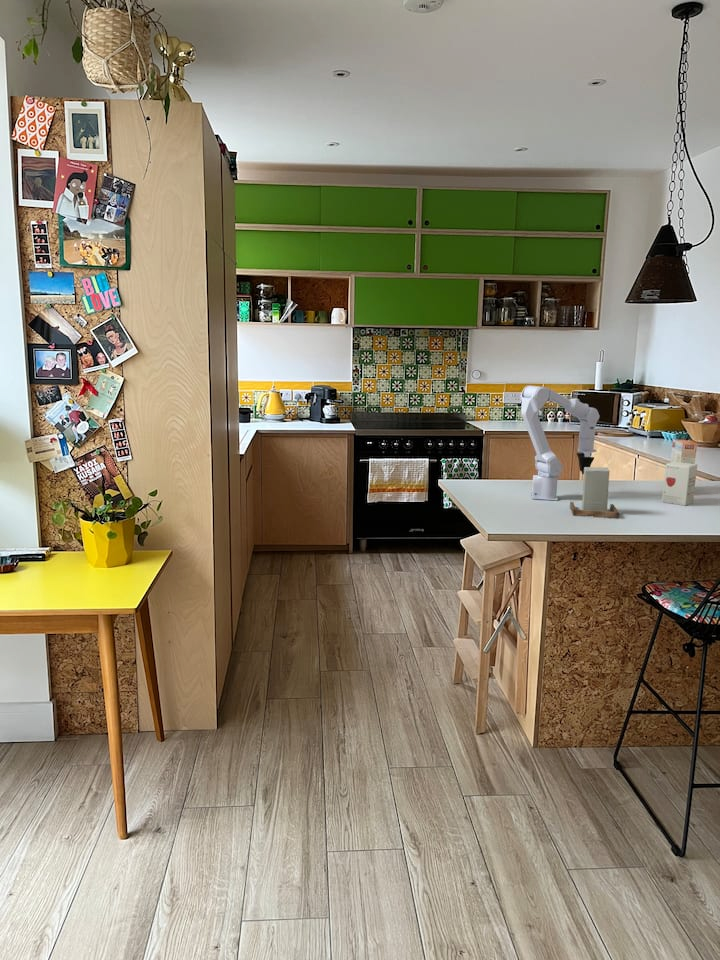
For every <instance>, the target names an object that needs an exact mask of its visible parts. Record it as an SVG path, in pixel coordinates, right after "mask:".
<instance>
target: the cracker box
mask: <svg viewBox="0 0 720 960" xmlns="http://www.w3.org/2000/svg"><path fill="white" fill-rule="evenodd" d="M671 447H672V448H671V453H670V455H671V457H670V463H671V462H681V463H689V464H696V455H697V447H698V444H697V443H695V442H693V441H690V440H687V439H676V438H675V439H672V445H671Z"/></svg>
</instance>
